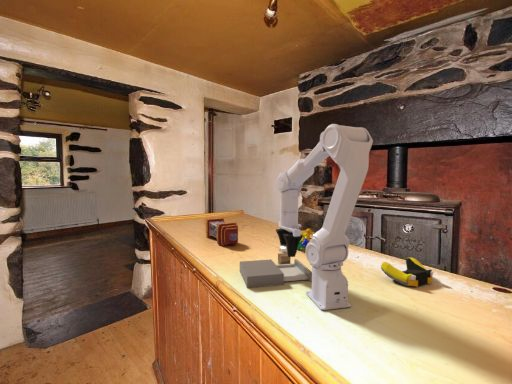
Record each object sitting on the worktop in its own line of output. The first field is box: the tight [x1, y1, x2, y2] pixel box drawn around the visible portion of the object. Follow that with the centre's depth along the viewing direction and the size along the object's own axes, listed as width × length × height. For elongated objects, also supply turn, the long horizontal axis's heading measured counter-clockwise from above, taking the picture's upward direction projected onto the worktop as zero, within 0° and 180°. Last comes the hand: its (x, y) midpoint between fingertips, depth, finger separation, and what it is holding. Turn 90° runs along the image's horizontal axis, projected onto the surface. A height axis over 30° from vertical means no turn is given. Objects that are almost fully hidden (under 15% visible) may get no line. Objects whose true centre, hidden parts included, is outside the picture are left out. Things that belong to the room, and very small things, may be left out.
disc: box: [278, 244, 287, 253], centre depth 83 cm, size 6×6×1 cm
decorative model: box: [297, 228, 315, 251], centre depth 114 cm, size 13×9×15 cm
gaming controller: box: [380, 256, 435, 288], centre depth 80 cm, size 15×6×10 cm
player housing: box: [239, 259, 285, 289], centre depth 81 cm, size 13×11×3 cm
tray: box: [276, 258, 312, 283], centre depth 83 cm, size 13×11×2 cm
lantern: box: [205, 217, 239, 247], centre depth 125 cm, size 10×9×30 cm
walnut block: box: [277, 252, 291, 265], centre depth 93 cm, size 4×4×4 cm
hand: (288, 253), depth 83 cm, fingers closed on disc, 6 cm apart
